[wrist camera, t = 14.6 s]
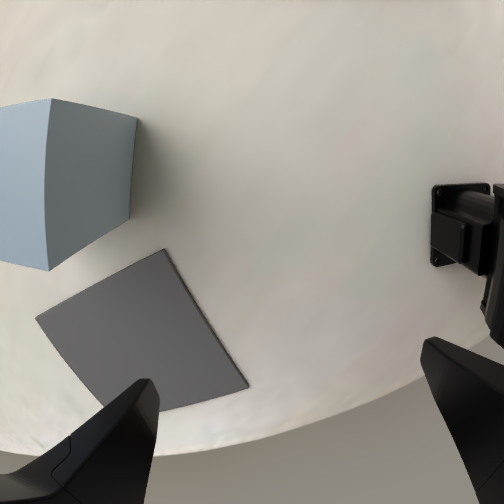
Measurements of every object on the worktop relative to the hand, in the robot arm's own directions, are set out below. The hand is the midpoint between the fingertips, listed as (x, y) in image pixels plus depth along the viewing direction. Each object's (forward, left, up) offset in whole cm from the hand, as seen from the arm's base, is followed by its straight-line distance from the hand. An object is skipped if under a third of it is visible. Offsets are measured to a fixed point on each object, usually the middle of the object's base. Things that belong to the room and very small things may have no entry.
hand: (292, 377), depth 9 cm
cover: (+12, -8, -13) cm, 19 cm away
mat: (+13, +8, -13) cm, 20 cm away
